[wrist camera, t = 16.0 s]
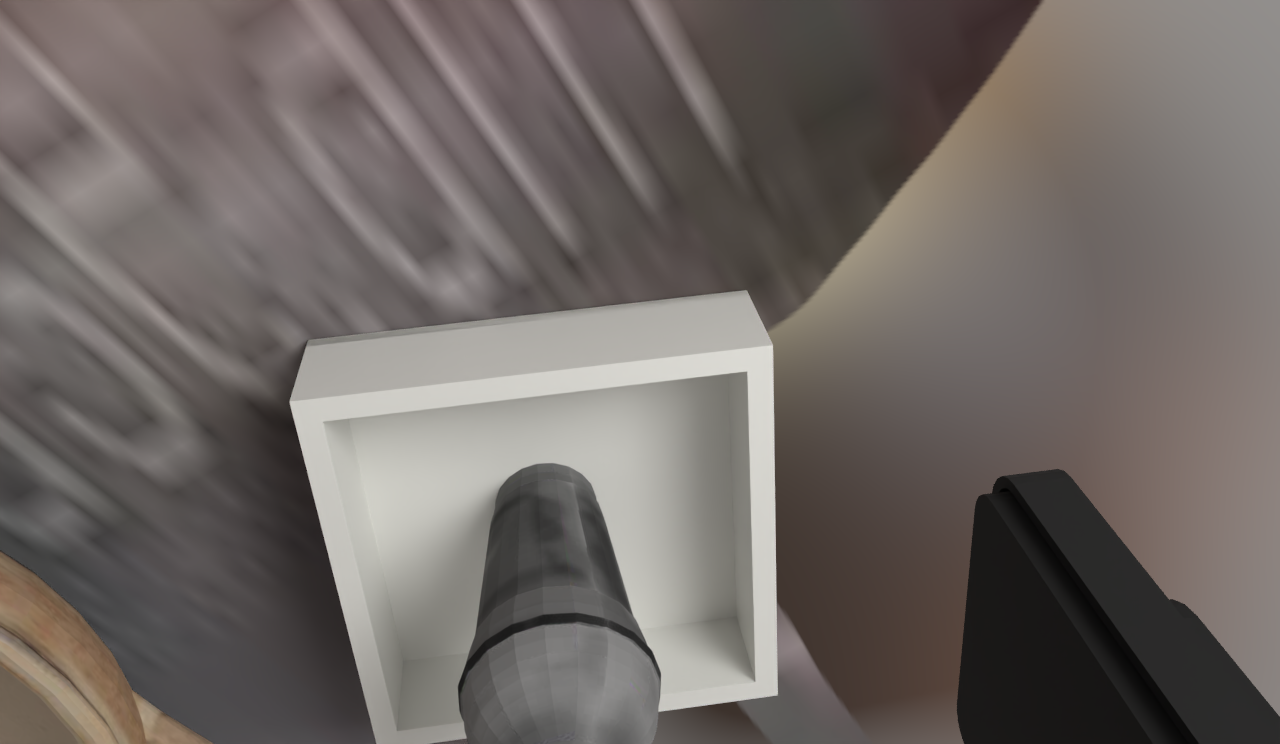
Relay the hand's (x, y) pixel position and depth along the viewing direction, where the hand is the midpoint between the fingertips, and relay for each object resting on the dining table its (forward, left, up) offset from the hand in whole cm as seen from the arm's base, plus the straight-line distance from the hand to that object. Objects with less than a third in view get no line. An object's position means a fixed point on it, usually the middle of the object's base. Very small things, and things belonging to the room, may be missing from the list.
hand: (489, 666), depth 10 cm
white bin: (+22, 0, -34) cm, 41 cm away
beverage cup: (+22, 0, -34) cm, 40 cm away
